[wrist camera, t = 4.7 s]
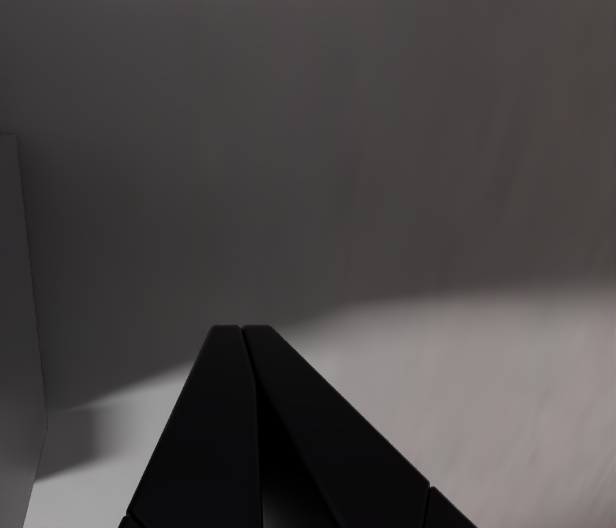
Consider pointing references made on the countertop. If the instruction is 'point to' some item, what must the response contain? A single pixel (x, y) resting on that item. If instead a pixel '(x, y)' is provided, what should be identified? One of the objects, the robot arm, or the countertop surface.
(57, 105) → the countertop surface
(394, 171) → the countertop surface
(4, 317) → the dark grey stepped block
